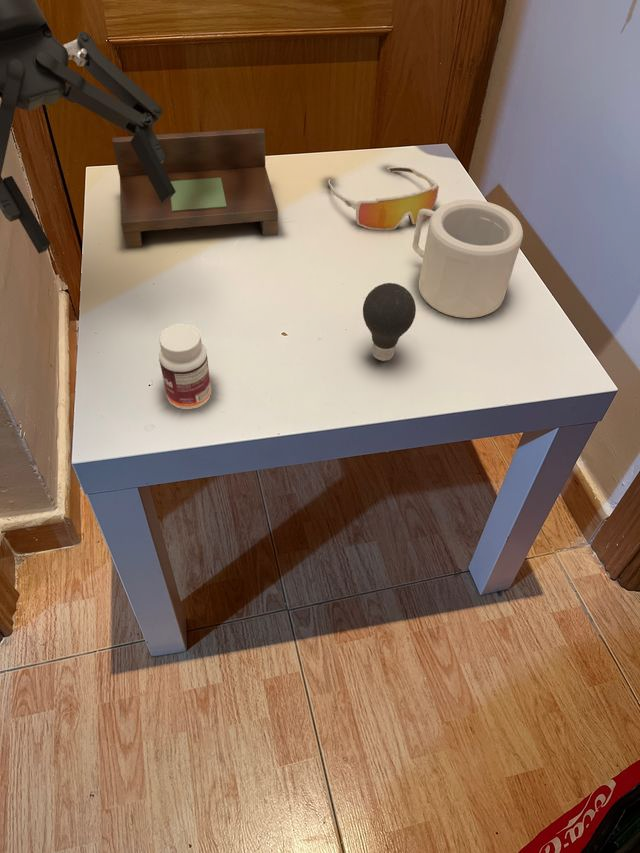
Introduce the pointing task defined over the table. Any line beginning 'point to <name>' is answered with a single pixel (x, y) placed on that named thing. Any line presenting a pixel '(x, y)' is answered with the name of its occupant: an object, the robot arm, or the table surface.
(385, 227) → the sunglasses
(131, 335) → the table surface
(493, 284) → the mug
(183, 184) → the shelf
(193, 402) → the pill bottle
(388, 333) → the light bulb
